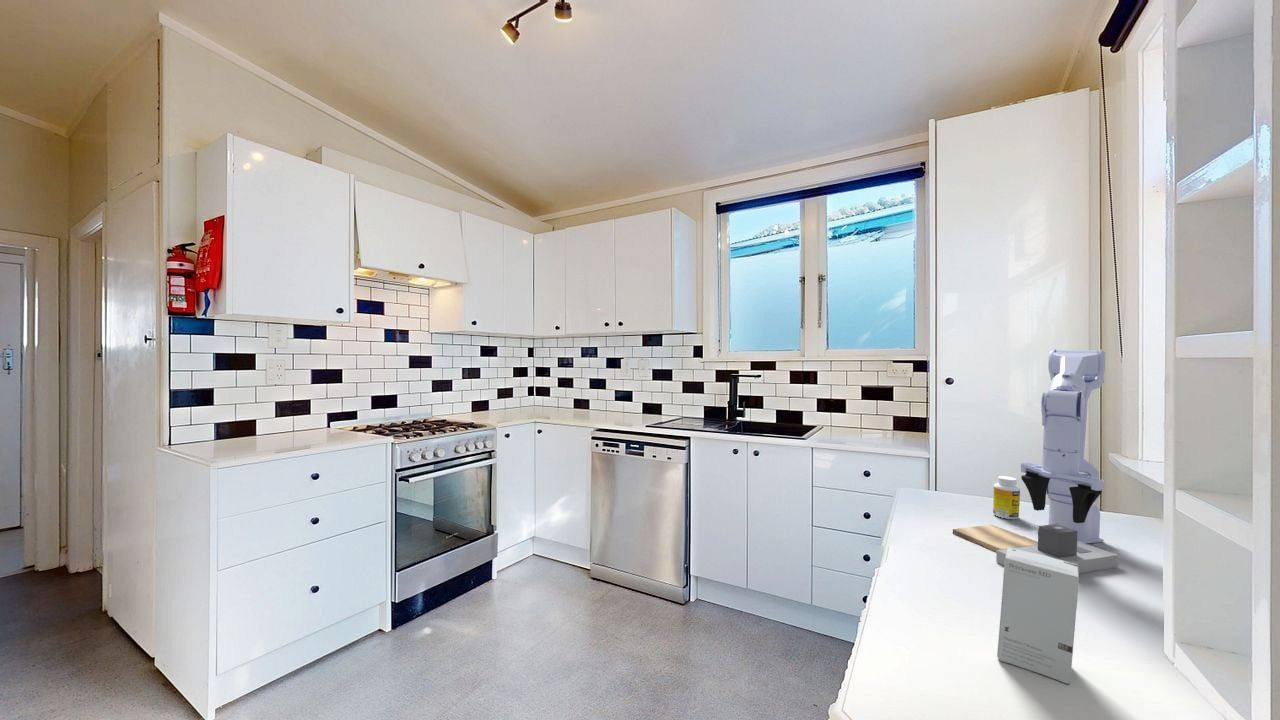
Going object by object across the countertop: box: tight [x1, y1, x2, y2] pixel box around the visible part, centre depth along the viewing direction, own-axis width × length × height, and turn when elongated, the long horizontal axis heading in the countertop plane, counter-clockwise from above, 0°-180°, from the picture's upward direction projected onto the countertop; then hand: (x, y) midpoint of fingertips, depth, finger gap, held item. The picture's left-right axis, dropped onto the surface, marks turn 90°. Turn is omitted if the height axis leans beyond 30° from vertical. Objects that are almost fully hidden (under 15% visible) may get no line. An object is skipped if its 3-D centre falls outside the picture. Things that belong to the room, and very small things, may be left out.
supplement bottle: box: [992, 475, 1021, 520], centre depth 132 cm, size 6×6×10 cm
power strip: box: [995, 541, 1119, 574], centre depth 103 cm, size 22×8×3 cm, turn 106°
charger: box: [1037, 524, 1078, 558], centre depth 103 cm, size 5×4×8 cm
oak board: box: [952, 524, 1038, 553], centre depth 116 cm, size 12×12×1 cm
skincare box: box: [996, 548, 1080, 685], centre depth 71 cm, size 8×6×15 cm
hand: (1058, 515), depth 103 cm, fingers open, 7 cm apart
